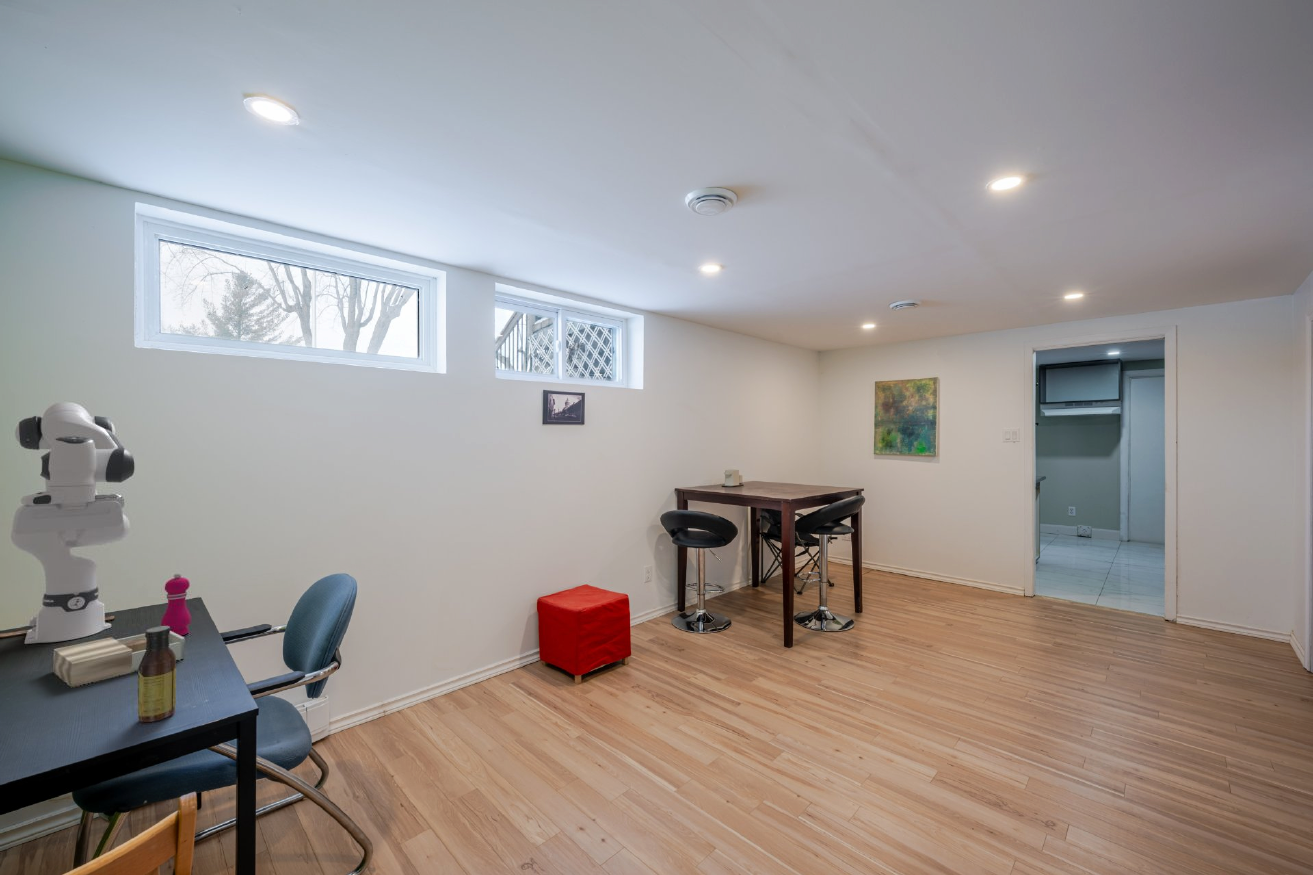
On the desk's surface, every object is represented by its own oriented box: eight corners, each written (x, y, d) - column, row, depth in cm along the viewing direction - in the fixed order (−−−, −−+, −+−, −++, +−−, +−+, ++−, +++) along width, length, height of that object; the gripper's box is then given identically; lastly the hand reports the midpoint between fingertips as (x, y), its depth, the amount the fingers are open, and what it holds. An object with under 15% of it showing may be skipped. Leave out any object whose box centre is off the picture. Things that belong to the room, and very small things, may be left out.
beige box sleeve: (53, 671, 142) (53, 649, 142) (110, 658, 152) (111, 637, 152) (71, 688, 133) (72, 663, 133) (131, 672, 142) (132, 650, 142)
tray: (110, 658, 152) (111, 637, 152) (161, 646, 161) (161, 626, 161) (131, 672, 142) (132, 650, 142) (184, 659, 151) (184, 637, 152)
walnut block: (120, 643, 148) (158, 634, 155) (119, 661, 148) (157, 651, 155) (126, 646, 146) (164, 637, 153) (125, 664, 146) (163, 655, 153)
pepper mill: (172, 640, 166) (174, 576, 167) (154, 638, 168) (156, 574, 168) (196, 632, 174) (198, 571, 174) (178, 630, 175) (180, 569, 176)
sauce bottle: (153, 710, 121) (156, 623, 122) (183, 710, 122) (186, 622, 123) (127, 725, 115) (131, 633, 116) (158, 724, 115) (162, 632, 116)
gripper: (120, 493, 155) (119, 540, 155) (12, 498, 138) (9, 551, 137) (128, 494, 152) (126, 542, 151) (17, 499, 134) (15, 554, 134)
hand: (70, 547), depth 144 cm, fingers closed
